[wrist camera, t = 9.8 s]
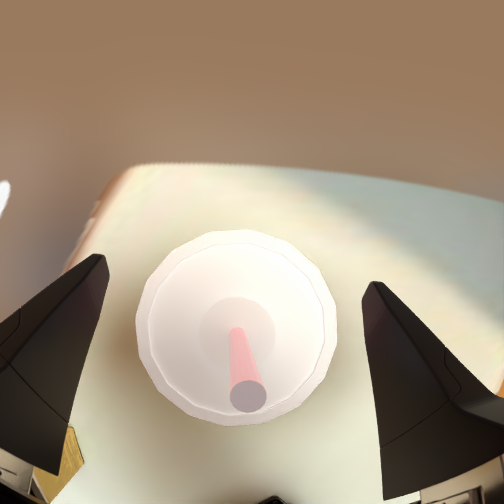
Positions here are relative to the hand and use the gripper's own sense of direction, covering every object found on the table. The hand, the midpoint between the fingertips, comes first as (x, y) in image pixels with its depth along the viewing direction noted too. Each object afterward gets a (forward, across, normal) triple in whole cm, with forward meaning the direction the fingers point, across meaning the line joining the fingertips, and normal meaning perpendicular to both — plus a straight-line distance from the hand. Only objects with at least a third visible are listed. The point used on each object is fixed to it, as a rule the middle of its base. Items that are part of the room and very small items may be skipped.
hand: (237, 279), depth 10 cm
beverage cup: (+5, 0, +7) cm, 8 cm away
